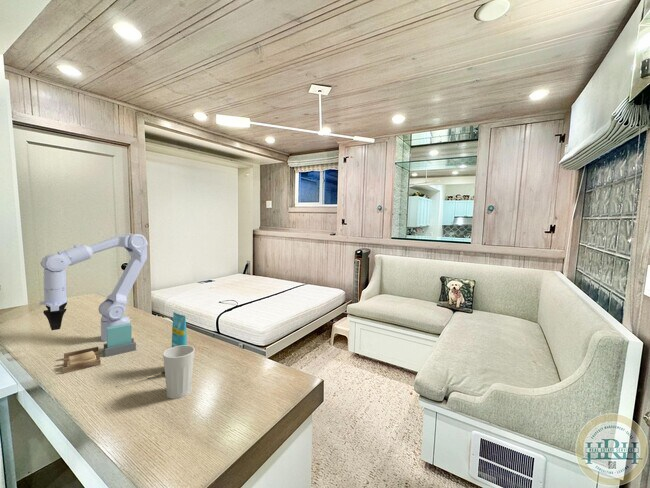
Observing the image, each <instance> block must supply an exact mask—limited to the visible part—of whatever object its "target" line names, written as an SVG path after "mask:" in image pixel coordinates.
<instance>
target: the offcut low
mask: <svg viewBox="0 0 650 488" xmlns="http://www.w3.org/2000/svg"><path fill="white" fill-rule="evenodd" d="M95 360H96V355H95V359H91V360H87V361H83V362H79V363H76V364H72V365H70V363H69V361H68V363H67V367H69V366H74V365H78V364H82V363H87V362H91V361H95Z"/></svg>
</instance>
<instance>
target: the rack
mask: <svg viewBox="0 0 650 488" xmlns="http://www.w3.org/2000/svg"><path fill="white" fill-rule="evenodd" d="M90 351H93V352H94V353H95V355H96V360H95V361H91V362H87V363H82V364H78V365H74V366H69V367H67V363H68V361H69V357H70V356H74V355H78V354H82V353H86V352H90ZM62 361H63V368H62V375H64V374H67V373H73V372H76V371H80V370H81V371H82V370H85V369H88V368H89V369H90V368H94V367H98V366H101V358H100V351H99V346H95V347H89V348H85V349H79V350H74V351H70V352H65V353H63V360H62Z"/></svg>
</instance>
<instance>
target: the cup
mask: <svg viewBox="0 0 650 488" xmlns="http://www.w3.org/2000/svg"><path fill="white" fill-rule="evenodd" d="M195 350H196V348H195V347H194V346H192V345H188V344H187V345H181V346H175V347H172V346H171V347H169V348H167V349H166V350H164V351H163V353H162V357H163V366H164V378H165V379H164V380H165V386H166V387H165V389H166V397H167V398H169V399H173V400H175V399H181V398H184V397H186V396H188V395H189V394H190V393H191V392H192V390H193V389H192V387H193V386H192V383H193V373H194V372H193V371H194V360H195Z"/></svg>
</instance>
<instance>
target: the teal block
mask: <svg viewBox="0 0 650 488" xmlns="http://www.w3.org/2000/svg"><path fill="white" fill-rule="evenodd" d="M132 330H133V329H132V324H131V322H130V323H129V324H123V325H117V326H111V327H107V342H106V343H107V348H110V347H115V346H120V345H125V344H129V343H132V338H133V336H132Z"/></svg>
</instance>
